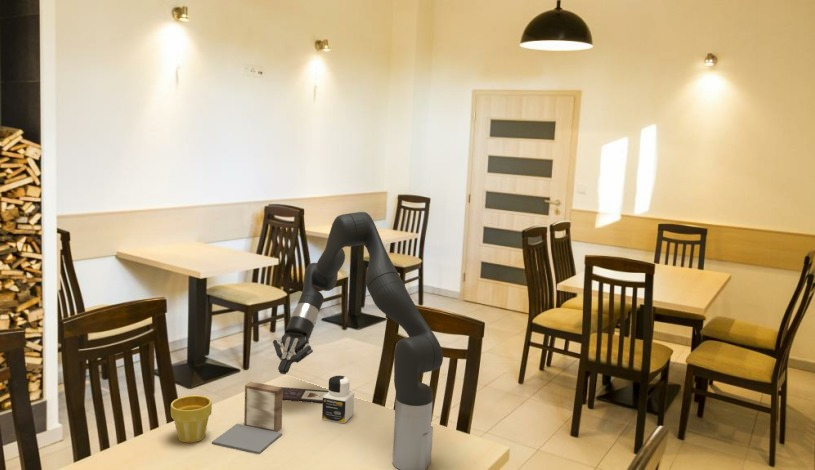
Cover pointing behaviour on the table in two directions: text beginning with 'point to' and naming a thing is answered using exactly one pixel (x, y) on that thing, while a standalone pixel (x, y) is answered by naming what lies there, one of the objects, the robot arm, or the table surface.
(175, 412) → the plant pot
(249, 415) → the walnut tile
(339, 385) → the medicine bottle
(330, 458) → the table surface
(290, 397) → the chocolate bar
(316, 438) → the table surface
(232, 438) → the felt mat
